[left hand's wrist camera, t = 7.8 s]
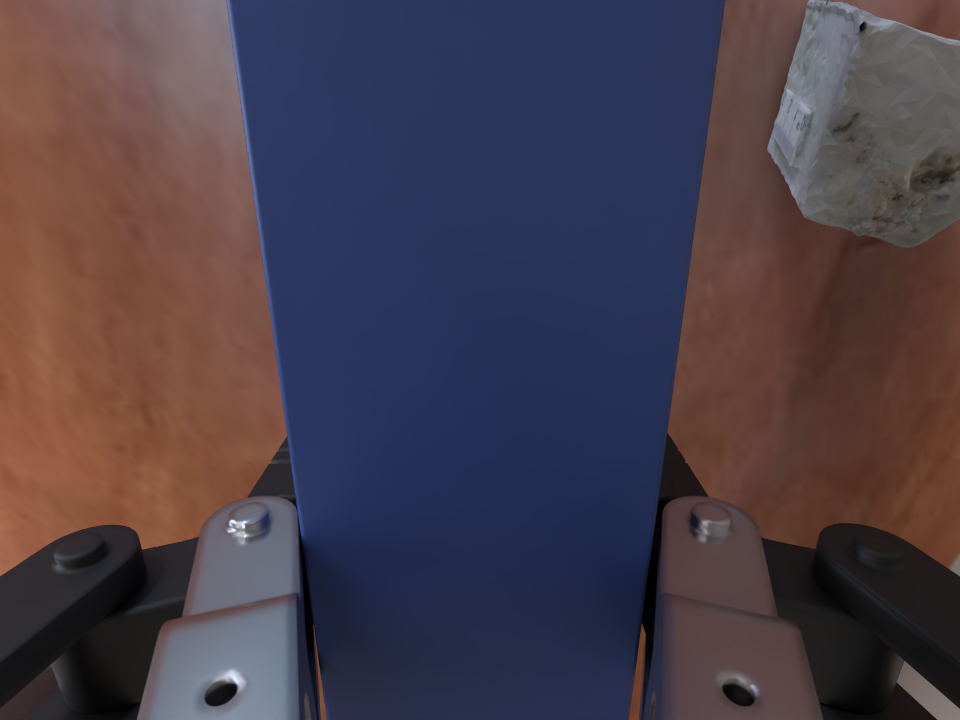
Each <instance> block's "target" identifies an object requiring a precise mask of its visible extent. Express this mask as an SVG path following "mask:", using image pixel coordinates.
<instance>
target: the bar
mask: <svg viewBox="0 0 960 720" xmlns="http://www.w3.org/2000/svg"><path fill="white" fill-rule="evenodd" d="M226 2H227V9H228V16H229V23H230V30H231V37H232V45H233V52H234V59H235V66H236V73H237V80H238V87H239V95H240V102H241V109H242V116H243V123H244V130H245V137H246V145H247V152H248V159H249V166H250V173H251V180H252V187H253V195H254V202H255V209H256V216H257V223H258V230H259V237H260V245H261V252H262V259H263V266H264V273H265V280H266V287H267V294H268V302H269V309H270V316H271V323H272V330H273V337H274V344H275V352H276V359H277V366H278V373H279V380H280V387H281V394H282V402H283V409H284V416H285V423H286V430H287V437H288V444H289V452H290V459H291V466H292V473H293V480H294V487H295V494H296V502H297V509H298V516H299V523H300V530H301V537H302V544H303V552H304V559H305V566H306V573H307V580H308V587H309V594H310V602H311V609H312V616H313V623H314V630H315V637H316V644H317V652H318V659H319V666H320V673H321V680H322V687H323V694H324V702H325V709H326V716H327V720H629V714H630V707H631V699H632V692H633V684H634V677H635V669H636V662H637V654H638V647H639V639H640V632H641V624H642V617H643V609H644V602H645V595H646V587H647V580H648V572H649V565H650V557H651V550H652V542H653V535H654V527H655V520H656V512H657V505H658V498H659V490H660V483H661V475H662V468H663V460H664V453H665V445H666V438H667V430H668V423H669V415H670V408H671V401H672V393H673V386H674V378H675V371H676V363H677V356H678V348H679V341H680V333H681V326H682V318H683V311H684V304H685V296H686V289H687V281H688V274H689V266H690V259H691V251H692V244H693V236H694V229H695V221H696V214H697V207H698V199H699V192H700V184H701V177H702V169H703V162H704V154H705V147H706V139H707V132H708V124H709V117H710V110H711V102H712V95H713V87H714V80H715V72H716V65H717V57H718V50H719V42H720V35H721V27H722V20H723V12H724V5H725V0H226Z"/></svg>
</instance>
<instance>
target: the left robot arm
mask: <svg viewBox="0 0 960 720" xmlns="http://www.w3.org/2000/svg"><path fill="white" fill-rule="evenodd" d="M642 624H643V627H644V630H645V633H646V635H645V642H644V652H643V668H642V683H641V699H640V715H639V720H937V719H936V718H935V717H934V716H932V715H931V714H930V713H929V712H928V711H927V710H926V709H925V708H924V707H923V706H922V705H921V704H919V703H918V702H917V701H916V700H915V699H914V698H913V697H912V696H911V695H910V694H909V693H907V692H906V691H905V690H904V689H903V688H902V687H901V686H900V685H899V684H898V683H897V679H898V677H899V674H900V671H901V668H902V666H903V663H904V661H906V662H907V663H908V664H909V665H910V666H911V667H913V668H914V669H915V670H916V671H917V672H918V673H919V674H921V675H922V676H923V677H924V678H925V679H926V680H927V681H929V682H930V683H931V684H932V685H933V686H934V687H936V688H937V689H938V690H939V691H940V692H941V693H942V694H944V695H945V696H946V697H947V698H948V699H949V700H950V701H952V702H953V703H954V704H955V705H956V706H957V707H958V708H960V576H958V575H957V574H955V573H954V572H952V571H951V570H949V569H948V568H946V567H945V566H943V565H942V564H940V563H939V562H937V561H936V560H934V559H933V558H931V557H930V556H928V555H927V554H925V553H924V552H922V551H921V550H919V549H918V548H916V547H915V546H913V545H912V544H910V543H908V542H907V541H905V540H903V539H901V538H899V537H897V536H895V535H893V534H891V533H888V532H886V531H883V530H880V529H877V528H873V527H869V526H865V525H860V524H851V523H840V524H834V525H830V526H828V527H826V528H824V529H823V530H822V531H821V532H820V535H819V538H818V542H817V546H816V549H811V548H806V547H801V546H796V545H792V544H787V543H782V542H777V541H773V540H768V539H765V538H762V537H761V535H760V531H759V528H758V526H757V524H756V523H755V521H754V520H753V519H752V518H751V517H750V516H749V515H748V514H747V513H745V512H744V511H742V510H741V509H739V508H738V507H736V506H734V505H732V504H730V503H727V502H725V501H722V500H718V499H715V498H710V497H708V495H707V494H706V492H705V490H704V489H703V487H702V486H701V484H700V483H699V481H698V479H697V478H696V476H695V475H694V473H693V472H692V470H691V469H690V467H689V465H688V464H687V463H685V459H684V458H683V456H682V455H681V453H680V451H678V448H677V447H676V445H675V444H674V442H673V441H672V439H671V437H670V436H669V434H667V438H666V445H665V453H664V460H663V468H662V475H661V483H660V490H659V498H658V505H657V512H656V520H655V527H654V535H653V542H652V550H651V557H650V565H649V572H648V580H647V587H646V595H645V602H644V609H643V617H642ZM313 625H314V623H313V616H312V609H311V602H310V594H309V587H308V580H307V573H306V566H305V559H304V552H303V544H302V537H301V530H300V523H299V516H298V509H297V502H296V494H295V487H294V480H293V473H292V466H291V459H290V452H289V444H288V437H286V439H285V440H284V442H283V444H282V445H281V447H280V448H279V452H277V453H276V454H275V456H274V457H273V459H272V460H271V464H269V465H268V467H267V468H266V470H265V471H264V473H263V474H262V476H261V477H260V479H259V480H258V482H257V483H256V485H255V486H254V488H253V490H252V491H251V493H250V494H249V496H248V497H247V498H245V499H242V500H238V501H235V502H233V503H230V504H228V505H226V506H224V507H222V508H221V509H219V510H218V511H216V512H215V513H213V514H212V515H211V516H210V517H209V518H208V519H207V520H206V521H205V523H204V524H203V526H202V528H201V531H200V535H199V537H196V538H193V539H190V540H186V541H182V542H178V543H173V544H168V545H163V546H158V547H153V548H148V549H143V550H142V548H141V544H140V540H139V537H138V534H137V533H136V532H135V531H134V530H133V529H131V528H129V527H126V526H121V525H102V526H96V527H90V528H87V529H83V530H80V531H77V532H74V533H71V534H69V535H66V536H64V537H62V538H60V539H58V540H56V541H54V542H52V543H50V544H49V545H47V546H45V547H44V548H42V549H41V550H39V551H38V552H36V553H35V554H33V555H32V556H30V557H29V558H27V559H26V560H24V561H23V562H21V563H20V564H18V565H17V566H15V567H14V568H12V569H11V570H9V571H8V572H6V573H5V574H3V575H2V576H0V720H321V715H320V699H319V683H318V668H317V652H316V642H315V635H314V628H313Z"/></svg>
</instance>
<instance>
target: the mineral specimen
mask: <svg viewBox="0 0 960 720" xmlns="http://www.w3.org/2000/svg"><path fill="white" fill-rule="evenodd" d="M767 151H768V153H770V154H771V155H772V159H773V160H774V162H775V164H777V165H778V167H779V169H780V170H781V173H782V175H783V176H784V177H785V182H786V183H787V184H788V185H789V188H790V190H791V193H792V195H793V197H794V198H795V200H796V202H797V205H798V207H799V209H800V210H801V212H802V214H803V215H804V217H805V218H807V219H809V220H812V221H814V222H817V223H820V224H823V225H826V226H835V227H840V228H843V229H846V230H848V231H851V232H853V233H854V234H856V235H857V236H862V235H867V236H872V237H875V238H878V239H881V240H884V241H887V242H890V243H893V244H895V245H896V246H898V247H902V248H910V247H914V246H917V245H920V244H922V243H923V242H925V241H927V240H929V239H930V238H931V237H932V236H934V235H935V234H936V233H938V232H939V231H941V230H943V229H945V228H946V227H948V226H950V225H952V224H953V223H955V222H956V221H957V220H959V219H960V41H958V40H953V39H948V38H943V37H940V36H937V35H934V34H931V33H927V32H923V31H920V30H917V29H914V28H912V27H909V26H907V25H904V24H901V23H899V22H896V21H892V20H887V19H883V18H878V17H876V16H874V15H872V14H870V13H868V12H866V11H864V10H862V9H859V8H857V7H854V6H852V5H849V4H846V3H844V2H831V1H830V0H829V1H820V0H816V1H815V0H810V1H808V3H807V7H806V14H805V18H804V22H803V26H802V31H801V35H800V39H799V42H798V44H797V47H796V50H795V53H794V56H793V61H792V63H791V66H790V69H789V73H788V78H787V83H786V85H785V89H784V93H783V95H782V99H781V105H780V110H779V113H778V116H777V118H776V120H775V122H774V128H773V131H772V135H771V138H770V141H769V144H768V148H767Z"/></svg>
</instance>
